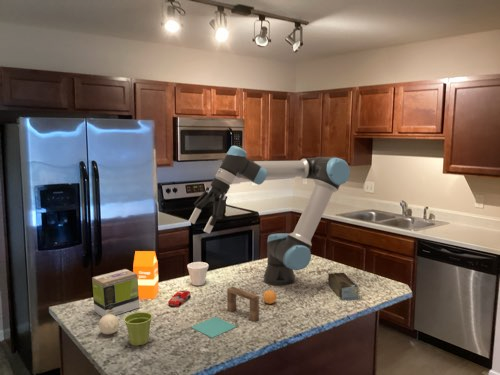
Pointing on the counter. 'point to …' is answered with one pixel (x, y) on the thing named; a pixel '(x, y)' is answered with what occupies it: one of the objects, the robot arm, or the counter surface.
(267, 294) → the ball
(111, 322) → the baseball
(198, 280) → the cup
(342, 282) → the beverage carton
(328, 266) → the counter surface
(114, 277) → the tea box
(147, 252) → the orange juice
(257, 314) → the bridge
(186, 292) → the race car
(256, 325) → the counter surface
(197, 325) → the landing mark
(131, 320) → the plant pot
